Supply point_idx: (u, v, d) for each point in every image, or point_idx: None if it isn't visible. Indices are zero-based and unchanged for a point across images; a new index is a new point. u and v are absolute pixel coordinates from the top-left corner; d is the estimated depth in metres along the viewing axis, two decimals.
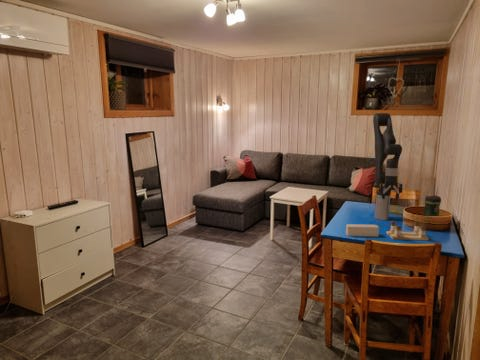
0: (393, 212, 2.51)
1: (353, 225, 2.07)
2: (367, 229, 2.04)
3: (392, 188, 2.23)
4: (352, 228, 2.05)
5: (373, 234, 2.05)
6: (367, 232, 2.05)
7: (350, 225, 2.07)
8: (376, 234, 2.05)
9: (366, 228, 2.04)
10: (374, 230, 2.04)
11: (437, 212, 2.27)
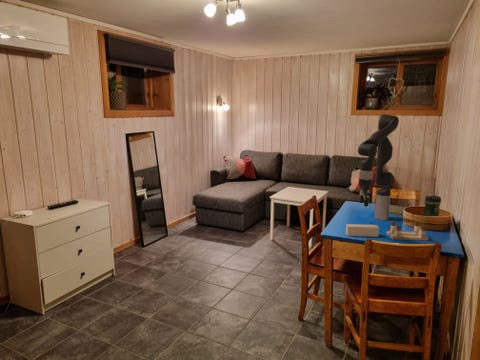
0: (393, 212, 2.51)
1: (353, 225, 2.07)
2: (367, 229, 2.04)
3: None
4: (352, 228, 2.05)
5: (373, 234, 2.04)
6: (366, 233, 2.05)
7: (350, 225, 2.07)
8: (376, 234, 2.04)
9: (366, 228, 2.04)
10: (374, 230, 2.04)
11: (437, 212, 2.27)
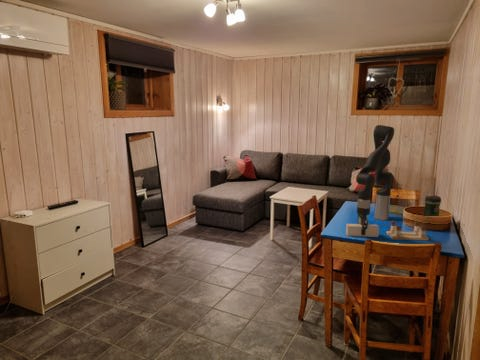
0: (393, 212, 2.51)
1: (353, 225, 2.07)
2: (367, 229, 2.04)
3: None
4: (352, 227, 2.05)
5: (373, 234, 2.04)
6: (366, 232, 2.04)
7: (350, 224, 2.07)
8: (376, 234, 2.04)
9: None
10: (374, 230, 2.04)
11: (437, 212, 2.27)
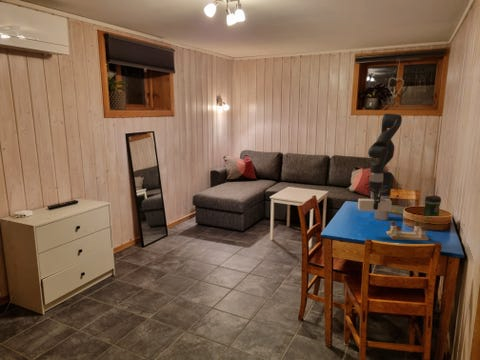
0: (393, 212, 2.51)
1: (365, 199, 2.04)
2: (379, 203, 2.01)
3: None
4: (364, 202, 2.02)
5: (386, 208, 2.01)
6: (379, 207, 2.01)
7: (362, 199, 2.04)
8: (389, 208, 2.01)
9: None
10: (387, 204, 2.00)
11: (437, 212, 2.27)
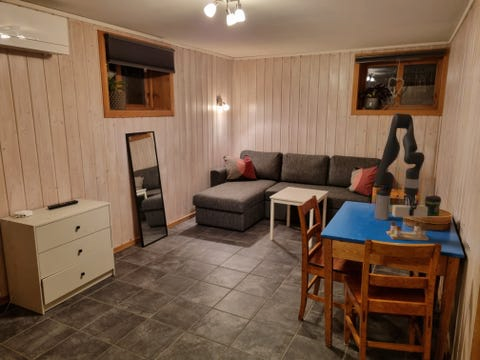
0: None
1: (400, 205, 2.02)
2: (415, 210, 1.98)
3: None
4: (399, 208, 1.99)
5: (422, 215, 1.98)
6: (415, 213, 1.99)
7: (397, 205, 2.02)
8: (425, 215, 1.98)
9: None
10: (423, 210, 1.98)
11: (437, 212, 2.27)
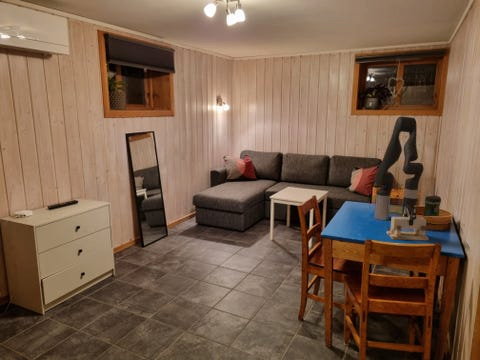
0: (393, 212, 2.51)
1: (399, 217, 2.03)
2: (414, 222, 2.00)
3: None
4: (398, 220, 2.00)
5: (420, 227, 2.00)
6: (413, 225, 2.00)
7: (396, 217, 2.03)
8: None
9: None
10: (421, 222, 2.00)
11: (437, 212, 2.27)
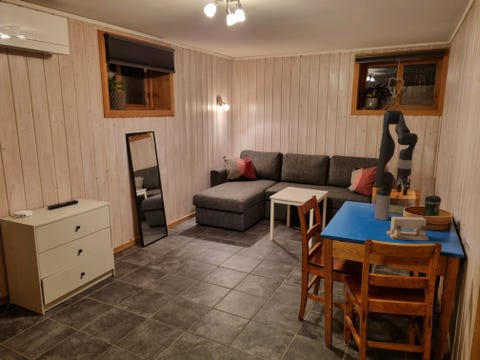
0: (393, 212, 2.51)
1: (399, 217, 2.03)
2: (414, 222, 2.00)
3: None
4: (398, 220, 2.00)
5: (420, 227, 2.00)
6: (413, 225, 2.00)
7: (396, 217, 2.03)
8: None
9: (413, 220, 2.00)
10: (421, 222, 2.00)
11: (437, 212, 2.27)
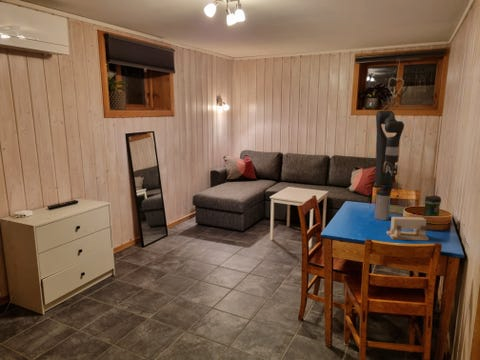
0: (393, 212, 2.51)
1: (399, 217, 2.03)
2: (414, 222, 2.00)
3: None
4: (398, 220, 2.00)
5: (420, 227, 2.00)
6: (413, 225, 2.00)
7: (396, 217, 2.03)
8: None
9: (413, 220, 2.00)
10: (421, 222, 2.00)
11: (437, 212, 2.27)
